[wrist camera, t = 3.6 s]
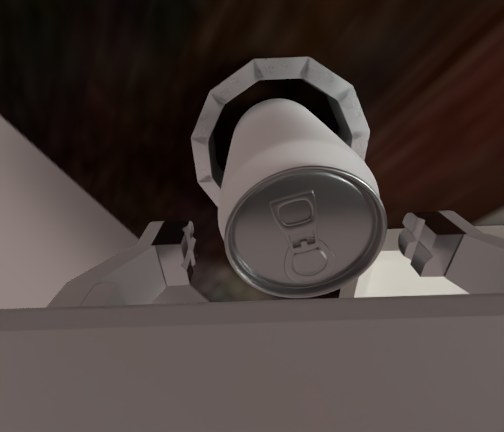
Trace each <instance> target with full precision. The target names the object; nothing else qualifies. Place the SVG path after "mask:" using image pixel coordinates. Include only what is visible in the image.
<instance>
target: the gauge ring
mask: <svg viewBox="0 0 504 432" xmlns="http://www.w3.org/2000/svg"><path fill="white" fill-rule="evenodd" d="M297 78H300V79H302V80H303V81H305V82H307V83H308V84H310V85H311V86H313V87H315V88H316V89H318V90H319V91H321V92H322V93H324V94H325V95H326V97H327V100H328V102H329V104H330V107H331V109H332V111H333V114H334V116H335V118H336V120H337V123H338V125H339V127H338V134H337V136H338V137H339V138H340V139H341V140H342V141H343V142H345V143H346V144H347V145H348V146H349V147H350V148H351V149H352V150H353V151H354V152H355V153H356V154H357V155H358V156H359V157H360V158H361V159H362V160H363V161H364V160H365V155H366V149H367V144H368V139H369V134H370V130H369V127H368V125H367V122H366V119H365V117H364V114H363V111H362V109H361V106H360V103H359V101H358V98H357V95H356V93H355V90H354V88H353V85H351V84H349V83H348V82H346V81H345V80H343V79H342V78H340V77H339V76H337V75H336V74H334V73H333V72H331V71H330V70H328V69H327V68H325V67H324V66H322V65H321V64H319V63H318V62H316V61H315V60H313V59H312V58H310V57H286V58H262V59H252V60H251V61H250V62H248V63H247V64H246V65H244V66H243V67H241V68H240V69H239V70H237V71H236V72H235V73H233V74H232V75H231V76H229V77H228V78H226V79H225V80H224V81H222V82H221V83H220V84H218V85H217V86H215V87H214V88H213V89H212V90H210V92H209V94H208V97H207V99H206V102H205V104H204V107H203V109H202V111H201V114H200V116H199V119H198V121H197V124H196V126H195V129H194V131H193V134H192V136H191V143H192V149H193V156H194V162H195V168H196V175H197V181H198V183H199V184H200V186H201V187H202V188H203V189H204V191H205V192H206V193H207V194H208V196H209V197H210V198H211V199H212V201H213V202H214V203H215V204H216V206H217V207H218V203H219V197H220V191H221V186H222V181H223V177H224V172H223V170H222V169H221V168H220V166H219V165H218V163H217V160H216V151H215V142H214V133H213V130H214V127H215V125H216V123H217V121H218V118H219V116H220V114H221V112H222V109H223V107H224V105H225V104H226V103H227V102H229V101H230V100H231V99H233V98H234V97H236V96H237V95H239V94H240V93H242V92H243V91H244V90H246V89H247V88H249V87H250V86H252V85H253V84H254V83H256V82H257V81H259V80H272V79H297Z"/></svg>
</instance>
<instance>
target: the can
mask: <svg viewBox="0 0 504 432" xmlns="http://www.w3.org/2000/svg"><path fill="white" fill-rule="evenodd" d="M218 224H219V229H220V232H221V235H222V238H223V240H224V243H225V250H226V254H227V257H228V259H229V262H230V264H231V265H232V267H233V269H234V270H235V271H236V273H237V274H238V275H239V276H240V277H241V278H242V279H243V280H244V281H246V282H247V283H248V284H250V285H251V286H253V287H255V288H256V289H258V290H261V291H263V292H265V293H268V294H272V295H275V296H280V297H288V298H306V297H314V296H319V295H323V294H327V293H330V292H333V291H335V290H338V289H340V288H342V287H344V286H346V285H348V284H349V283H351V282H352V281H354V280H355V279H357V278H358V277H359V276H361V275H362V274H363V273H364V272H365V271H366V270H367V269H368V268H369V267H370V266H371V265H372V264H373V262H374V261H375V260H376V258H377V257H378V255H379V253H380V251H381V249H382V247H383V244H384V242H385V238H386V233H387V217H386V212H385V209H384V206H383V203H382V201H381V200H380V196H379V190H378V186H377V183H376V180H375V178H374V176H373V174H372V173H371V171H370V169H369V168H368V166H367V165H366V164H365V162H364V161H363V160H362V159H361V158H360V157H359V156H358V155H357V154H356V153H355V152H354V151H353V150H352V149H351V148H350V147H349V146H348V145H347V144H346V143H345V142H343V141H342V140H341V139H340V138H339V137H338V136H337V135H336V134H335V133H334V132H333V131H331V130H330V129H329V128H328V127H327V126H326V125H325V124H324V123H323V122H321V121H320V120H319V119H318V118H317V117H316V116H315V115H313V114H312V113H311V112H310V111H309V110H308V109H306V108H305V107H304V106H302V105H301V104H299V103H297V102H294V101H292V100H288V99H280V98H277V99H269V100H265V101H262V102H260V103H258V104H256V105H254V106H253V107H251V108H250V109H249V110H248V111H247V112H245V114H244V115H243V116H242V117H241V119H240V120H239V122H238V123H237V125H236V127H235V130H234V133H233V137H232V141H231V145H230V149H229V154H228V158H227V163H226V167H225V172H224V177H223V181H222V186H221V191H220V197H219V203H218Z"/></svg>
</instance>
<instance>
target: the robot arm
mask: <svg viewBox="0 0 504 432" xmlns="http://www.w3.org/2000/svg"><path fill="white" fill-rule="evenodd" d="M403 224H404V226H405V228H404V229H403V230H402V231H401V232H400V233H399V237H398V247H399V250H400V252H401V253H402V255H403V256H404V257H406V258H408V259H410V260H411V263H410V265H411V266H412V267H413V268H414V270H415V271H416V272H417V273H418V275H419V276H420V277H445V278H446V279H447V280H449V281H450V282H452V283H454V284H455V285H457V286H458V287H460V288H462V289H463V290H465V291H466V292H468V293H469V294H450V295H419V296H389V297H358V298H327V299H296V300H265V301H234V302H205V303H175V304H174V303H173V304H150V303H151V302H152V301H153V300H154V299H155V298H156V297H157V296H158V295H159V294H160V293H161V292H162V291H163V290H164V289H165V288H166V286H174V285H190V281H191V278H192V274H193V268H192V266H193V265H194V264H195V263H196V259H197V244H196V240H195V239H194V238H193V237H192V236H193V232H194V228H193V223H192V222H191V221H156V222H150V223H149V225H148V227H147V228H146V230H145V231H144V233H143V234H142V236H141V238H140V239H139V241H138V242H137V244H136V246H132V247H129V248H127V249H126V250H124V251H122V252H120V253H118V254H117V255H115V256H113V257H111V258H110V259H108V260H106V261H104V262H103V263H101V264H99V265H97V266H95V267H94V268H92V269H90V270H88V271H87V272H85V273H83V274H81V275H80V276H78V277H76V278H74V279H72V280H71V281H69V282H67V283H66V284H65V285H64V286H63V288H62V289H61V290H60V291H59V293H58V294H57V295H56V296H55V297H54V298H53V300H52V301H51V302H50V303H49V305H48V306H47V307H46V308H20V309H0V432H504V239H503V238H500V237H497V236H494V235H491V234H484V233H482V232H481V231H480V230H478V229H477V228H476V227H474V226H473V225H471V224H470V223H469V222H467V221H466V220H465V219H463V218H462V217H460V216H459V215H458V214H456V213H455V212H453V211H449V210H448V211H435V212H418V213H407V215H406V216H405V217H404V220H403Z"/></svg>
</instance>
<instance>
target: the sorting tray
mask: <svg viewBox="0 0 504 432" xmlns="http://www.w3.org/2000/svg"><path fill="white" fill-rule="evenodd" d="M474 227H476V228H477V229H478V230H480V231H481V232H482V233H484V234H491V235H494V236H497V237H500V238H503V239H504V225H497V226H474ZM402 230H403V229H387V233H386V238H385V242H384V244H383V247H382V249H381V251H380V253H379V255H378V257H377V258H376V260H375V261H374V262H373V264H372V265H371V266H370V267H369V268H368V269H367V270H366V271H365V272H364V273H363V274H362V275H361V276H359V277H358V278H357V279H355V280H354V281H352V282H351V283H349V284H348V285H346V286H344V287H342V288H341V290H340V295H339V298H358V297H389V296H419V295H450V294H469V293H468V292H466V291H465V290H463V289H462V288H460V287H458V286H457V285H455V284H454V283H452V282H450V281H449V280H447V279H446V278H445V277H420V276H419V275H418V273H417V272H416V271H415V270H414V268H413V267H412V266H411V265H410V263H411V260H410V259H408V258H406V257H404V256H403V255H402V253H401V252H400V250H399V247H398V237H399V233H400V232H401V231H402Z"/></svg>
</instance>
